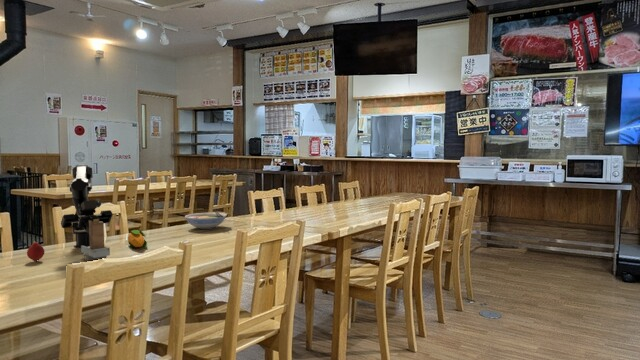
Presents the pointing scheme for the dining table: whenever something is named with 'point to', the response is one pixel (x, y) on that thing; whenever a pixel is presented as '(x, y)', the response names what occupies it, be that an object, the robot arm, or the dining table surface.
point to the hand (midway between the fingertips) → (93, 234)
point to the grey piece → (95, 252)
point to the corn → (137, 239)
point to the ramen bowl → (205, 220)
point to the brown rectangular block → (96, 234)
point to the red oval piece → (35, 251)
